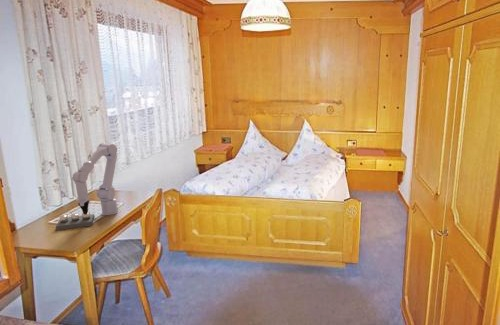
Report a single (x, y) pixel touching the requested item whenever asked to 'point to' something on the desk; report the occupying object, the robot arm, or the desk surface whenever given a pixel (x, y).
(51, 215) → the desk surface
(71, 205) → the desk surface
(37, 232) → the desk surface
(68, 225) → the knob panel
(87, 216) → the knob
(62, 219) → the knob
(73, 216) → the knob mid
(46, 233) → the desk surface
